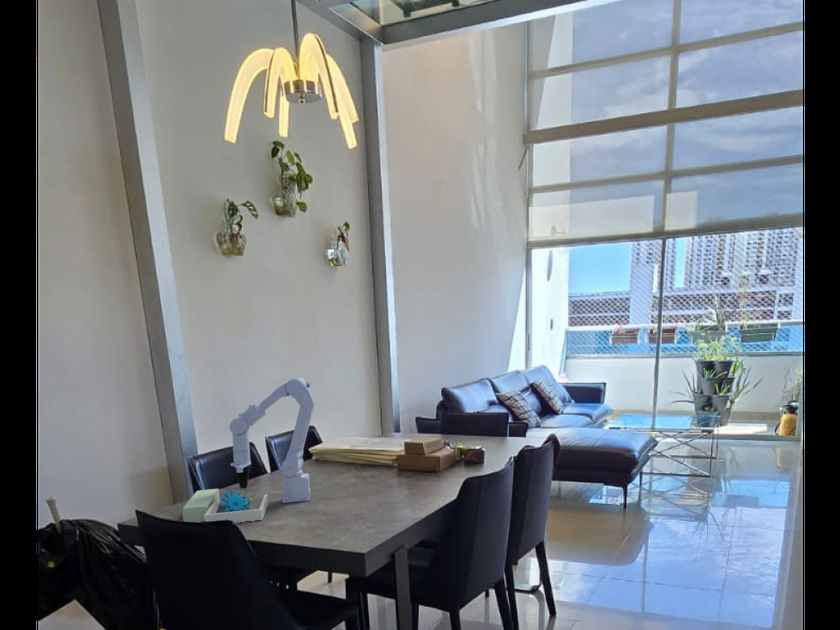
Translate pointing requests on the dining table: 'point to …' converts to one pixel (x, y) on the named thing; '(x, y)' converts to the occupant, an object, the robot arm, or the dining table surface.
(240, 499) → the gear
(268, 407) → the robot arm
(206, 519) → the shallow white tray
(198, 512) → the pale green rounded block
